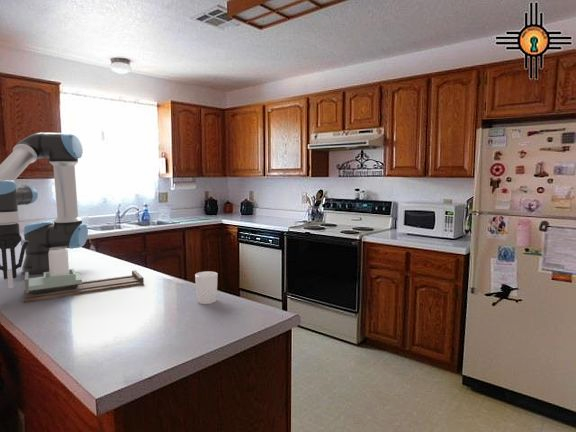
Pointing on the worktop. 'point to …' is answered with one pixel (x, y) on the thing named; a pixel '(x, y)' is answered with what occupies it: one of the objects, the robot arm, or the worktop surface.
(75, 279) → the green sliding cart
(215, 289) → the white cup
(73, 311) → the worktop surface
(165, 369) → the worktop surface
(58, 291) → the track
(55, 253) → the can
